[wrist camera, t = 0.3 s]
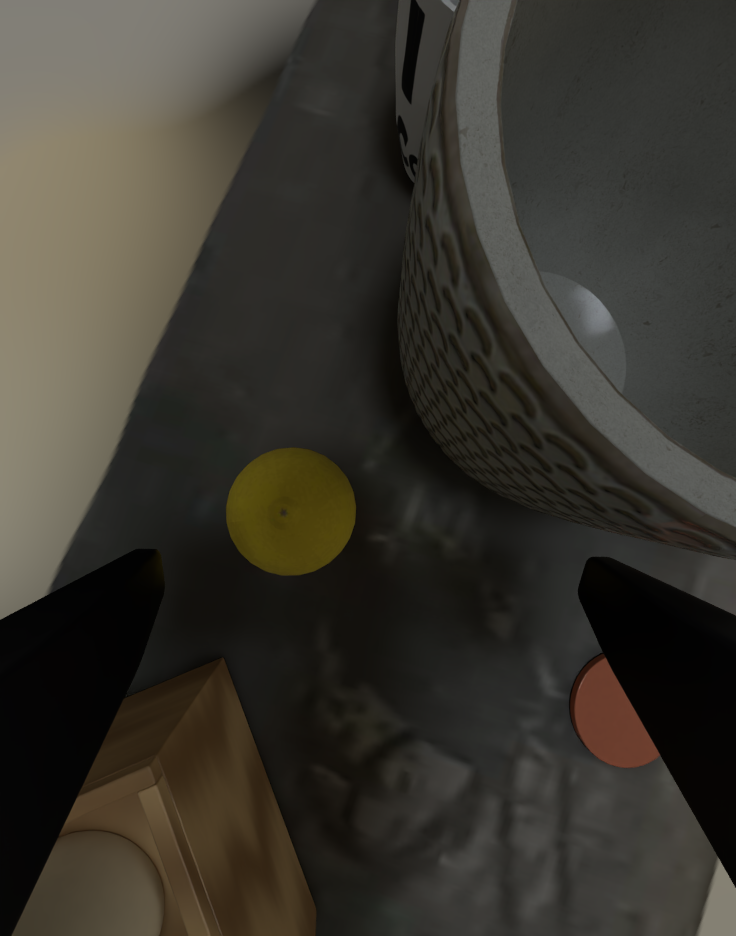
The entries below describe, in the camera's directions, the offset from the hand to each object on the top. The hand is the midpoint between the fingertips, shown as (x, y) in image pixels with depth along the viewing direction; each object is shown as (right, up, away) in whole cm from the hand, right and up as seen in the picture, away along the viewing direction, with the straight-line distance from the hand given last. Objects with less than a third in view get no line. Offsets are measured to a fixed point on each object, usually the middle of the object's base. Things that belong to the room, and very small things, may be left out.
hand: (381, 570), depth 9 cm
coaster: (+14, -11, +15) cm, 23 cm away
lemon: (-4, 0, +14) cm, 15 cm away
